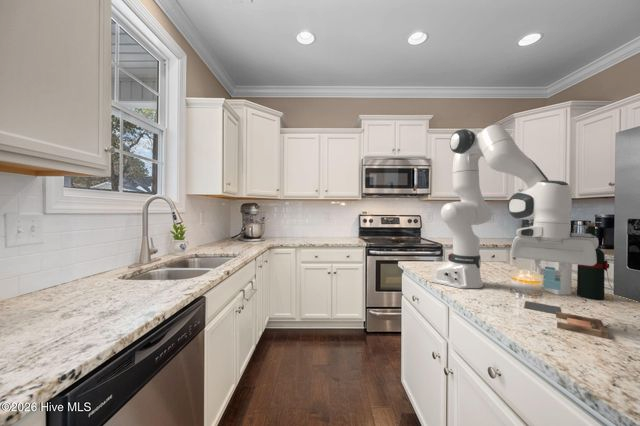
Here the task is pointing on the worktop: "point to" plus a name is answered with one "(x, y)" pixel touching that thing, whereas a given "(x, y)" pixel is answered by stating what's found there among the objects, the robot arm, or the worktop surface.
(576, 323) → the tile
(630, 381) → the worktop surface
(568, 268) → the milk
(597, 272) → the wine bottle
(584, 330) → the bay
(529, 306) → the mat
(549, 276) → the pusher
